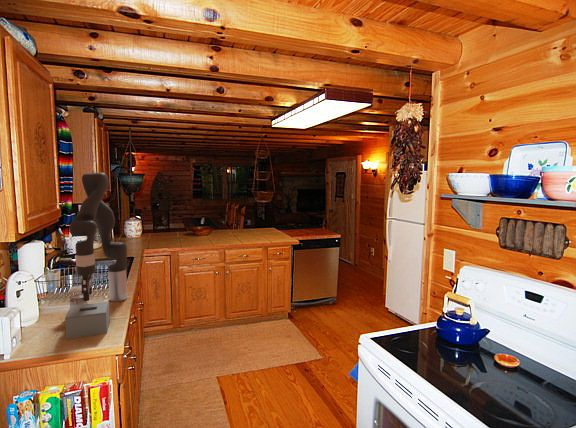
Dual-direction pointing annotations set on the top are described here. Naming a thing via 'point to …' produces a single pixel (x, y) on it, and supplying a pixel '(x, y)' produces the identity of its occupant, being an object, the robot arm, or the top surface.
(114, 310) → the top surface
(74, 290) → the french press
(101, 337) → the top surface
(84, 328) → the box
